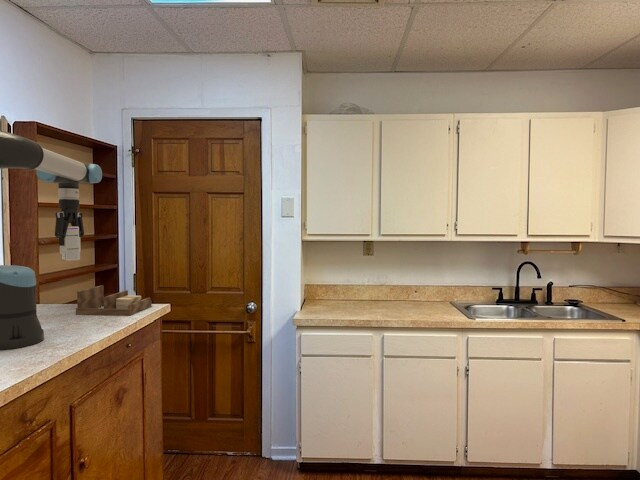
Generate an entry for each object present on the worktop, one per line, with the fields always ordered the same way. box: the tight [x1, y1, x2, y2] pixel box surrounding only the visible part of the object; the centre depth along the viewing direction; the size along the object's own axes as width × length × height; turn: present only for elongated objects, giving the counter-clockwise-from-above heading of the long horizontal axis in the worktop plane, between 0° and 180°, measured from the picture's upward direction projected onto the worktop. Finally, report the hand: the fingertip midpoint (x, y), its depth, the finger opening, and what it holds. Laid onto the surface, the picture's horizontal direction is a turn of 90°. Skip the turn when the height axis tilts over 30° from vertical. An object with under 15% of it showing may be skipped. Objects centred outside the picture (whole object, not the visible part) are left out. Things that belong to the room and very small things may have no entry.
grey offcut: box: [116, 306, 128, 309], centre depth 172 cm, size 8×6×3 cm
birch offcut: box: [116, 294, 142, 307], centre depth 172 cm, size 8×6×3 cm
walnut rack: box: [75, 284, 153, 317], centre depth 173 cm, size 18×22×9 cm
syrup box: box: [61, 225, 81, 262], centre depth 178 cm, size 6×6×14 cm
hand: (70, 252), depth 178 cm, fingers closed on syrup box, 8 cm apart
